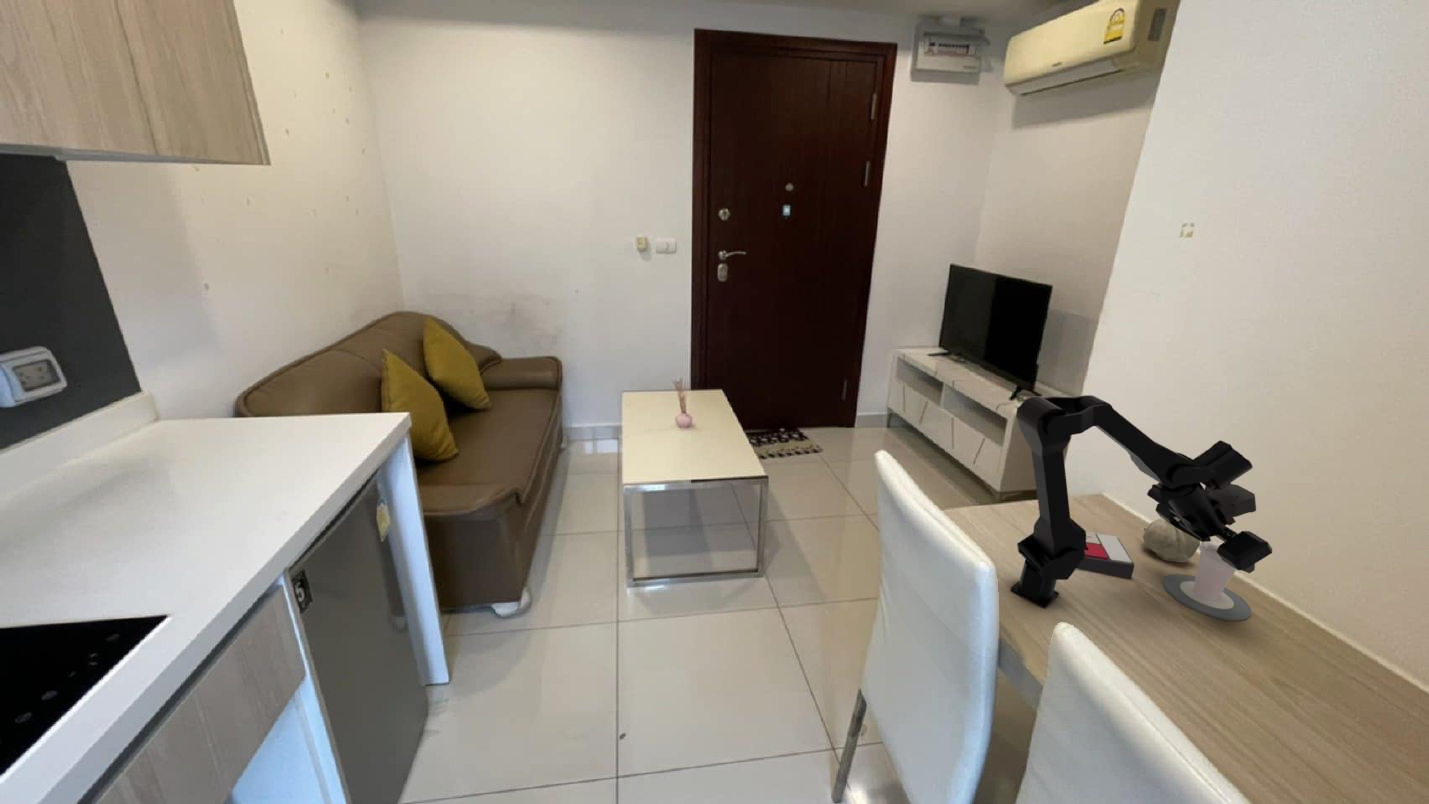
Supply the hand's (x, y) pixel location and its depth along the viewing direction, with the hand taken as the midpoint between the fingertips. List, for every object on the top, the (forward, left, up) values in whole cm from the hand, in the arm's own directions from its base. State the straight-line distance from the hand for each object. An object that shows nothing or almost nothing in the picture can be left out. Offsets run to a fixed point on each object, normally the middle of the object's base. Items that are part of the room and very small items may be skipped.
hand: (1228, 556), depth 106 cm
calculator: (-6, +21, -10) cm, 24 cm away
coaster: (-1, +1, -9) cm, 10 cm away
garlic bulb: (+9, +10, -10) cm, 17 cm away
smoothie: (-1, +1, -9) cm, 9 cm away
